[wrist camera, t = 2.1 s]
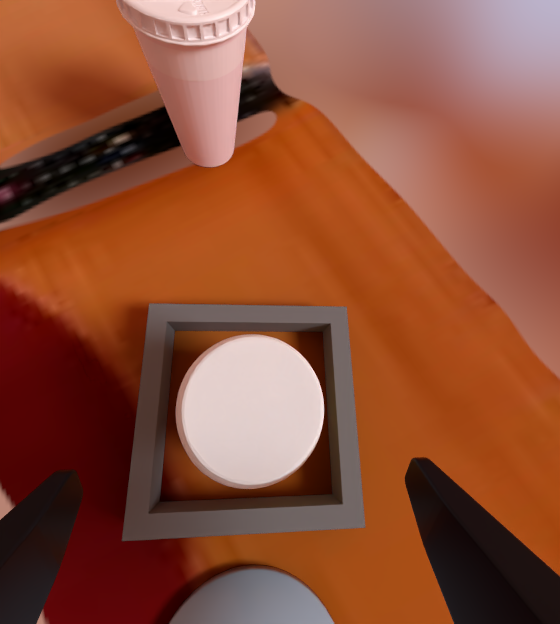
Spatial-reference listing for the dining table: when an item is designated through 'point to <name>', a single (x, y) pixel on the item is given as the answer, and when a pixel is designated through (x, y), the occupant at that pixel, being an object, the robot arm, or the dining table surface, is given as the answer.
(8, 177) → the dining table surface
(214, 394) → the supplement bottle
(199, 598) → the coaster
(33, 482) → the dining table surface
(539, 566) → the robot arm
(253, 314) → the frame
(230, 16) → the smoothie
